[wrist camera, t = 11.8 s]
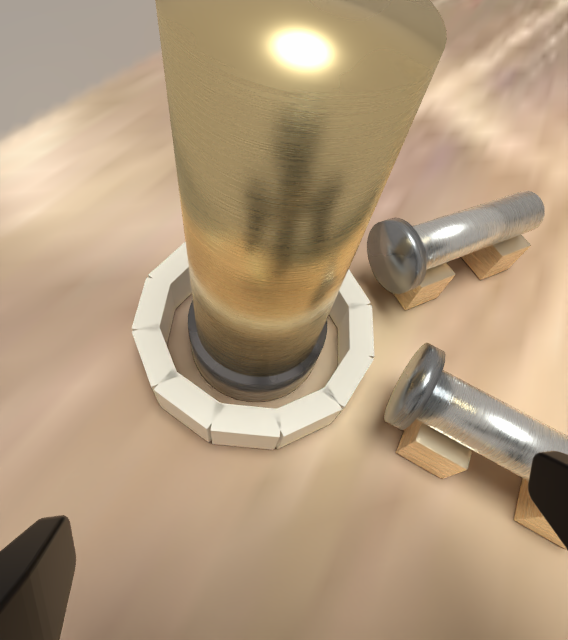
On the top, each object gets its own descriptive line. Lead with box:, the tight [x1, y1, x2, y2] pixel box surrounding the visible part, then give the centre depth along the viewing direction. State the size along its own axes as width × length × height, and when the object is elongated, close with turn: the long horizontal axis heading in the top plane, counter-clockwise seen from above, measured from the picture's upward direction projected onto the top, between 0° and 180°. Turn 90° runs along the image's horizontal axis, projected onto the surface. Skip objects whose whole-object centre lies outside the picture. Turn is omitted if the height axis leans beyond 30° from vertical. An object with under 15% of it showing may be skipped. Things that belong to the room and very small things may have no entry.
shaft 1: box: [367, 191, 544, 310], centre depth 19 cm, size 8×3×5 cm, turn 116°
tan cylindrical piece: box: [155, 0, 447, 402], centre depth 13 cm, size 6×6×13 cm
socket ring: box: [132, 241, 374, 450], centre depth 17 cm, size 10×10×2 cm
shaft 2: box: [384, 343, 568, 549], centre depth 15 cm, size 8×3×5 cm, turn 61°
